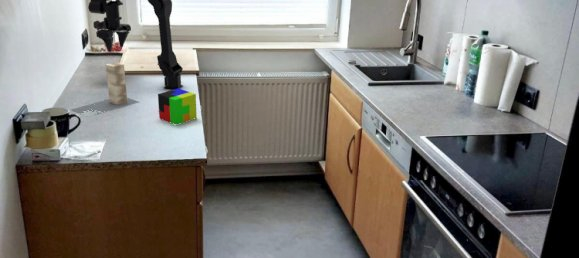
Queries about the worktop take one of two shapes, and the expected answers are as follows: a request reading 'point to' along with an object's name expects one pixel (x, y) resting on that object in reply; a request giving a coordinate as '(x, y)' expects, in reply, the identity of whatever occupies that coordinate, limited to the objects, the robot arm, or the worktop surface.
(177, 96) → the puzzle toy
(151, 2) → the robot arm
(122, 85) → the birch block
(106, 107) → the slate mat
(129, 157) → the worktop surface
